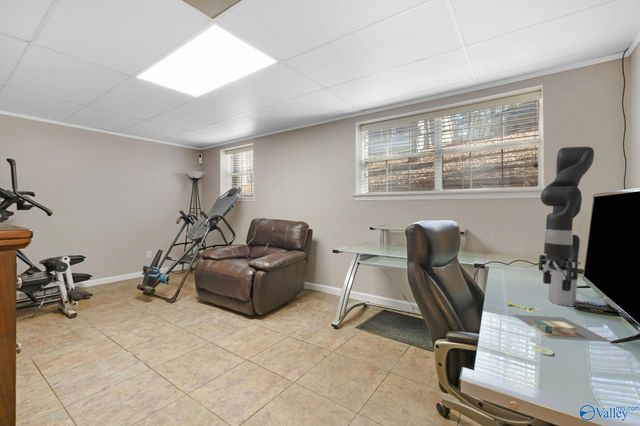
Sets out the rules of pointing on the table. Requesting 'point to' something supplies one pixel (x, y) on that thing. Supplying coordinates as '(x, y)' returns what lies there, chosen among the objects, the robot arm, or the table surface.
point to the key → (522, 307)
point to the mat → (580, 334)
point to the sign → (542, 350)
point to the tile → (555, 327)
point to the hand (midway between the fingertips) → (556, 287)
